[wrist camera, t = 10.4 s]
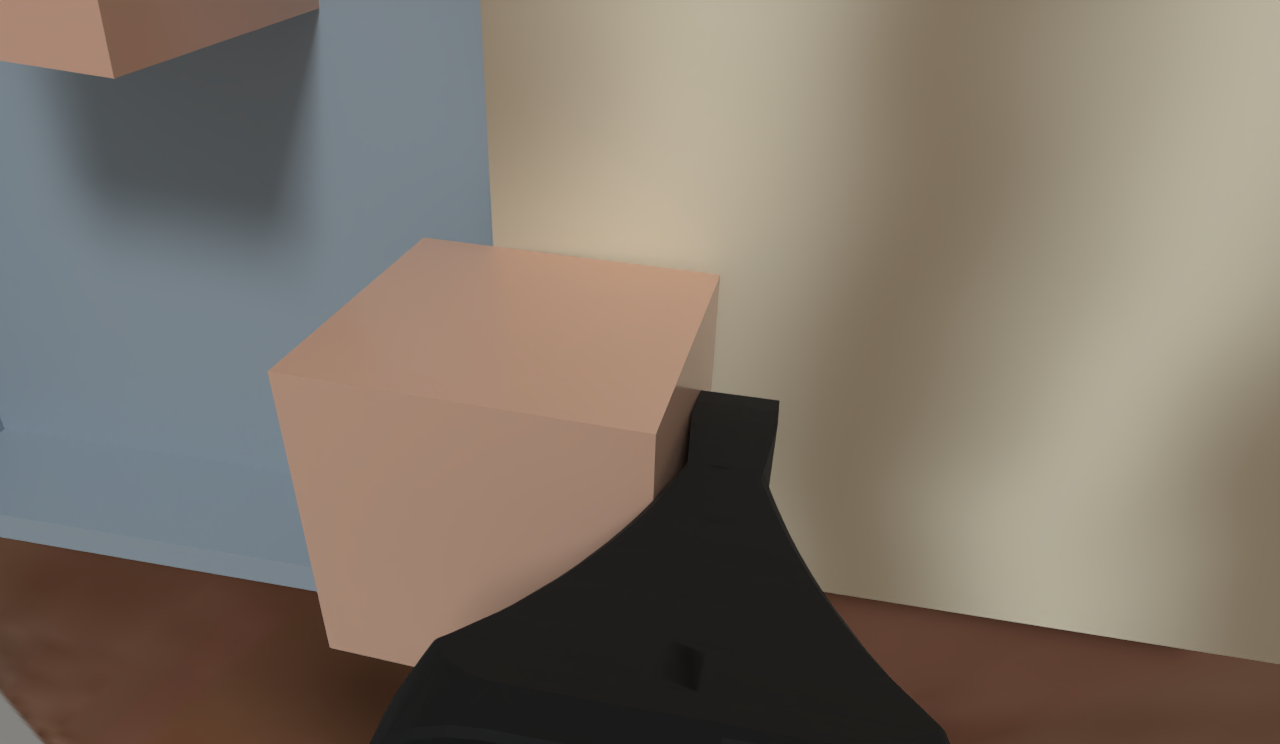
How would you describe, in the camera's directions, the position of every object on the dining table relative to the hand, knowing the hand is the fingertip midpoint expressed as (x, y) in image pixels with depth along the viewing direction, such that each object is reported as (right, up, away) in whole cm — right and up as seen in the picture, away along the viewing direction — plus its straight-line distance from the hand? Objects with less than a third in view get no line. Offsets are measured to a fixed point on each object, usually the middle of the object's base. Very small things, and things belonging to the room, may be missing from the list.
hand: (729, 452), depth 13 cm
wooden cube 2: (-2, +1, +1) cm, 3 cm away
